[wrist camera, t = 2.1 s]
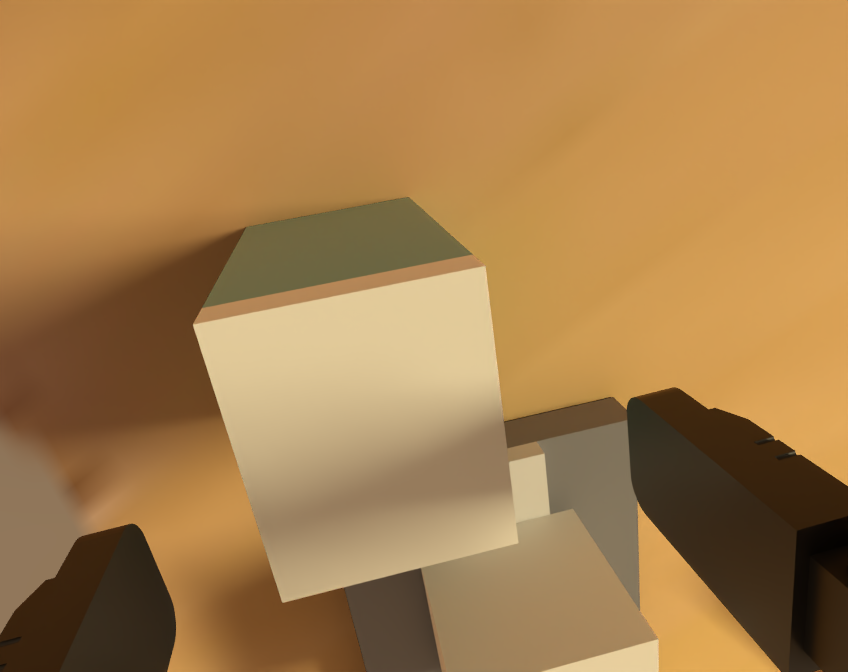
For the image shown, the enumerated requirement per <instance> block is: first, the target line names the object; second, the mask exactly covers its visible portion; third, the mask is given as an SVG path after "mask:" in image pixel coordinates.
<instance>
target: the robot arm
mask: <svg viewBox="0 0 848 672" xmlns="http://www.w3.org/2000/svg"><path fill="white" fill-rule="evenodd" d="M627 424H628V440H629V456H630V472H631V481H632V486H633V489H634V493H635V495H636V498H637V500H638V502H639V504H640V506H641V508H642V510H643V511H644V513H645V514H646V515H647V516H648V518H649V519H650V520H651V521H652V522H653V523H654V525H655V526H656V527H657V528H658V529H659V530H660V532H661V533H662V534H663V535H664V536H665V537H666V539H667V540H668V541H669V542H670V543H671V544H672V545H673V547H674V548H675V549H676V550H677V551H678V552H679V554H680V555H681V556H682V557H683V558H684V559H685V561H686V562H687V563H688V564H689V565H690V566H691V568H692V569H693V570H694V571H695V572H696V573H697V574H698V576H699V577H700V578H701V579H702V580H703V581H704V583H705V584H706V585H707V586H708V587H709V588H710V590H711V591H712V592H713V593H714V594H715V595H716V597H717V598H718V599H719V600H720V601H721V602H722V603H723V605H724V606H725V607H726V608H727V609H728V610H729V612H730V613H731V614H732V615H733V616H734V617H735V619H736V620H737V621H738V622H739V623H740V624H741V626H742V627H743V628H744V629H745V630H746V631H747V633H748V634H749V635H750V636H751V637H752V638H753V639H754V641H755V642H756V643H757V644H758V645H759V646H760V648H761V649H762V650H763V651H764V652H765V653H766V655H767V656H768V657H769V658H770V659H771V660H772V662H773V663H774V664H775V665H776V666H777V667H778V668H779V670H780V671H781V672H814V671H817V670H820V669H821V670H822V671H823V672H848V486H847V485H845V484H844V483H842V482H841V481H839V480H838V479H836V478H835V477H833V476H832V475H830V474H829V473H827V472H826V471H824V470H823V469H821V468H820V467H818V466H817V465H815V464H814V463H812V462H811V461H809V460H808V459H806V458H805V457H803V456H802V455H796V453H795V450H793V449H792V448H790V447H789V446H787V445H786V444H784V443H783V442H781V441H780V440H776V441H775V440H774V436H772V435H771V434H769V433H768V432H766V431H765V430H763V429H762V428H760V427H759V426H757V425H756V424H754V423H753V422H751V421H750V420H748V419H746V418H743V417H740V416H737V415H734V414H731V413H728V412H725V411H723V410H720V409H717V408H713V409H709V410H708V409H707V408H706V407H704V406H703V405H701V404H700V403H699V402H697V401H696V400H694V399H693V398H692V397H690V396H689V395H687V394H686V393H685V392H683V391H682V390H680V389H678V388H669V389H665V390H661V391H657V392H653V393H649V394H645V395H641V396H638V397H634V398H631V399H630V400H629V402H628V405H627ZM175 636H176V620H175V612H174V607H173V603H172V600H171V597H170V595H169V593H168V590H167V588H166V585H165V583H164V581H163V578H162V576H161V574H160V571H159V569H158V567H157V564H156V562H155V560H154V557H153V555H152V553H151V550H150V548H149V546H148V543H147V541H146V539H145V536H144V534H143V532H142V531H141V529H140V528H139V527H138V526H137V525H135V524H128V525H124V526H120V527H116V528H112V529H108V530H104V531H100V532H97V533H93V534H89V535H85V536H81V537H79V538H78V539H77V540H76V542H75V543H74V545H73V547H72V548H71V550H70V552H69V554H68V556H67V557H66V559H65V561H64V563H63V564H62V566H61V568H60V570H59V571H58V574H57V575H56V577H55V578H53V579H49V580H46V581H45V582H44V583H43V584H42V585H40V586H39V588H38V589H37V590H35V592H34V593H32V594H31V595H30V596H29V597H28V598H27V599H26V600H25V601H24V602H23V603H22V604H21V605H20V606H19V607H18V608H17V609H16V610H15V611H14V613H13V615H12V616H11V618H10V620H9V621H8V623H7V624H6V626H5V628H4V630H3V631H2V633H1V634H0V672H167V670H168V666H169V662H170V658H171V655H172V651H173V647H174V642H175Z"/></svg>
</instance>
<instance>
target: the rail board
mask: <svg viewBox="0 0 848 672" xmlns="http://www.w3.org/2000/svg"><path fill="white" fill-rule="evenodd" d="M504 426H505V435H506V443H507V451H508V460H509V468H510V477H511V485H512V493H513V502H514V510H515V518H516V527H517V535H518V543H517V544H513V545H509V546H505V547H501V548H497V549H493V550H489V551H485V552H481V553H477V554H473V555H470V556H466V557H462V558H458V559H454V560H450V561H446V562H442V563H438V564H434V565H430V566H426V567H422V568H418V569H414V570H410V571H406V572H402V573H398V574H394V575H390V576H386V577H383V578H379V579H375V580H371V581H367V582H363V583H359V584H355V585H351V586H347V587H344V589H345V593H346V597H347V601H348V604H349V608H350V612H351V616H352V619H353V623H354V627H355V631H356V634H357V638H358V642H359V646H360V649H361V653H362V657H363V661H364V664H365V668H366V672H659V657H658V638H657V636H656V635H655V633H654V632H653V630H652V629H651V627H650V626H649V624H648V623H647V621H646V620H645V618H644V617H643V615H642V613H641V612H640V594H639V552H638V510H637V498H636V495H635V493H634V489H633V486H632V481H631V472H630V456H629V440H628V424H627V410H626V409H625V408H624V407H623V406H622V405H621V404H620V403H619V402H618V401H617V400H616V399H615V398H614V397H611V398H607V399H603V400H598V401H594V402H590V403H585V404H581V405H577V406H572V407H568V408H564V409H559V410H555V411H551V412H546V413H542V414H537V415H533V416H529V417H524V418H520V419H516V420H511V421H507V422H504Z"/></svg>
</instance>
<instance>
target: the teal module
mask: <svg viewBox="0 0 848 672" xmlns="http://www.w3.org/2000/svg"><path fill="white" fill-rule="evenodd" d="M193 327H194V330H195V333H196V336H197V339H198V343H199V346H200V349H201V352H202V355H203V358H204V361H205V364H206V367H207V370H208V374H209V377H210V380H211V383H212V386H213V389H214V392H215V395H216V398H217V402H218V405H219V408H220V411H221V414H222V417H223V420H224V423H225V426H226V429H227V433H228V436H229V439H230V442H231V445H232V448H233V451H234V454H235V457H236V461H237V464H238V467H239V470H240V473H241V476H242V479H243V482H244V485H245V489H246V492H247V495H248V498H249V501H250V504H251V507H252V510H253V513H254V516H255V520H256V523H257V526H258V529H259V532H260V535H261V538H262V541H263V544H264V548H265V551H266V554H267V557H268V560H269V563H270V566H271V569H272V572H273V576H274V579H275V582H276V585H277V588H278V591H279V594H280V597H281V600H282V603H284V602H288V601H292V600H296V599H300V598H303V597H307V596H311V595H315V594H319V593H323V592H327V591H331V590H335V589H339V588H343V587H347V586H351V585H355V584H359V583H363V582H367V581H371V580H375V579H379V578H383V577H386V576H390V575H394V574H398V573H402V572H406V571H410V570H414V569H418V568H422V567H426V566H430V565H434V564H438V563H442V562H446V561H450V560H454V559H458V558H462V557H466V556H470V555H473V554H477V553H481V552H485V551H489V550H493V549H497V548H501V547H505V546H509V545H513V544H517V543H518V535H517V527H516V518H515V510H514V502H513V493H512V485H511V477H510V468H509V460H508V451H507V443H506V435H505V426H504V418H503V410H502V401H501V393H500V384H499V376H498V368H497V359H496V351H495V343H494V334H493V326H492V317H491V309H490V301H489V292H488V284H487V276H486V267H485V265H484V264H483V263H482V262H480V261H479V260H478V259H477V258H476V257H475V256H474V255H473V254H472V253H470V252H469V251H468V250H467V249H466V248H465V247H464V246H463V245H462V244H460V243H459V242H458V241H457V240H456V239H455V238H454V237H453V236H451V235H450V234H449V233H448V232H447V231H446V230H445V229H444V228H443V227H441V226H440V225H439V224H438V223H437V222H436V221H435V220H434V219H433V218H431V217H430V216H429V215H428V214H427V213H426V212H425V211H424V210H423V209H421V208H420V207H419V206H418V205H417V204H416V203H415V202H414V201H412V200H411V199H410V198H409V197H406V198H401V199H395V200H390V201H384V202H379V203H374V204H368V205H363V206H357V207H352V208H347V209H341V210H336V211H330V212H325V213H320V214H314V215H309V216H304V217H298V218H293V219H287V220H282V221H277V222H271V223H266V224H260V225H255V226H250V227H246V229H245V230H244V232H243V234H242V236H241V238H240V240H239V241H238V243H237V245H236V247H235V249H234V250H233V252H232V254H231V256H230V258H229V260H228V261H227V263H226V265H225V267H224V269H223V270H222V272H221V274H220V276H219V278H218V280H217V281H216V283H215V285H214V287H213V289H212V291H211V292H210V294H209V296H208V298H207V300H206V301H205V303H204V305H203V307H202V309H201V311H200V312H199V314H198V316H197V318H196V320H195V321H194V323H193Z"/></svg>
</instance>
